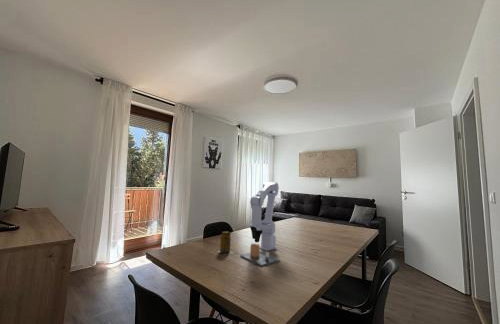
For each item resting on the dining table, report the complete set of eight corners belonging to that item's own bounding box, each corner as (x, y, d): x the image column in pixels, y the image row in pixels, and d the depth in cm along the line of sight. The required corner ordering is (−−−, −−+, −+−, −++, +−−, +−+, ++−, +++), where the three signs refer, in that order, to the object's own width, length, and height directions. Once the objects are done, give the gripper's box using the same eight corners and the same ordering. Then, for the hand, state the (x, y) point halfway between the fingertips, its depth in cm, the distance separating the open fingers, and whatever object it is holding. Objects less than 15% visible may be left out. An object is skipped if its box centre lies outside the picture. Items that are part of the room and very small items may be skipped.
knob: (258, 253, 126) (258, 242, 127) (259, 256, 122) (260, 245, 122) (249, 253, 126) (250, 242, 126) (251, 256, 121) (251, 245, 121)
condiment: (226, 249, 135) (227, 230, 136) (234, 253, 129) (235, 233, 130) (216, 251, 131) (217, 231, 132) (224, 255, 124) (225, 234, 125)
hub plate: (258, 252, 132) (258, 244, 132) (279, 261, 118) (280, 252, 118) (240, 256, 123) (240, 247, 123) (261, 266, 109) (261, 256, 110)
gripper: (247, 214, 132) (247, 237, 131) (251, 218, 118) (251, 244, 117) (258, 214, 133) (258, 237, 132) (264, 218, 119) (263, 243, 118)
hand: (255, 240), depth 125 cm, fingers open, 7 cm apart
